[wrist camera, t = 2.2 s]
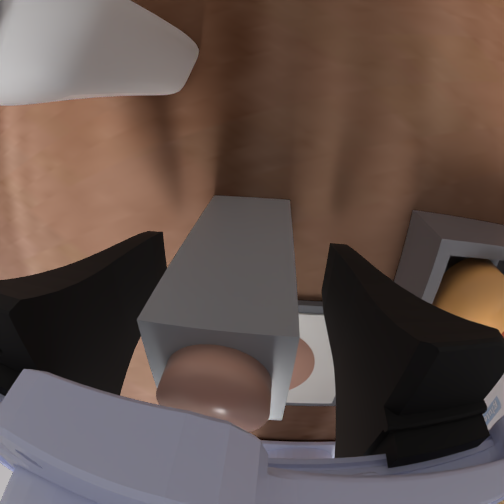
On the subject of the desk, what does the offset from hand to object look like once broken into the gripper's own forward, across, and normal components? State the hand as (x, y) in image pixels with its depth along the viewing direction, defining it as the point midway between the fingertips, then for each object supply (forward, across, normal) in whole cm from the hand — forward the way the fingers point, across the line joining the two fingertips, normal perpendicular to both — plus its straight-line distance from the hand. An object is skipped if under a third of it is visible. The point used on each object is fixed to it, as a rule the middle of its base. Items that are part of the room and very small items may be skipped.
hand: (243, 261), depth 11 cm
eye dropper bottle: (+3, +5, -8) cm, 10 cm away
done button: (+1, -11, +1) cm, 11 cm away
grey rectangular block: (+3, 0, 0) cm, 3 cm away
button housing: (+3, -10, +2) cm, 11 cm away
